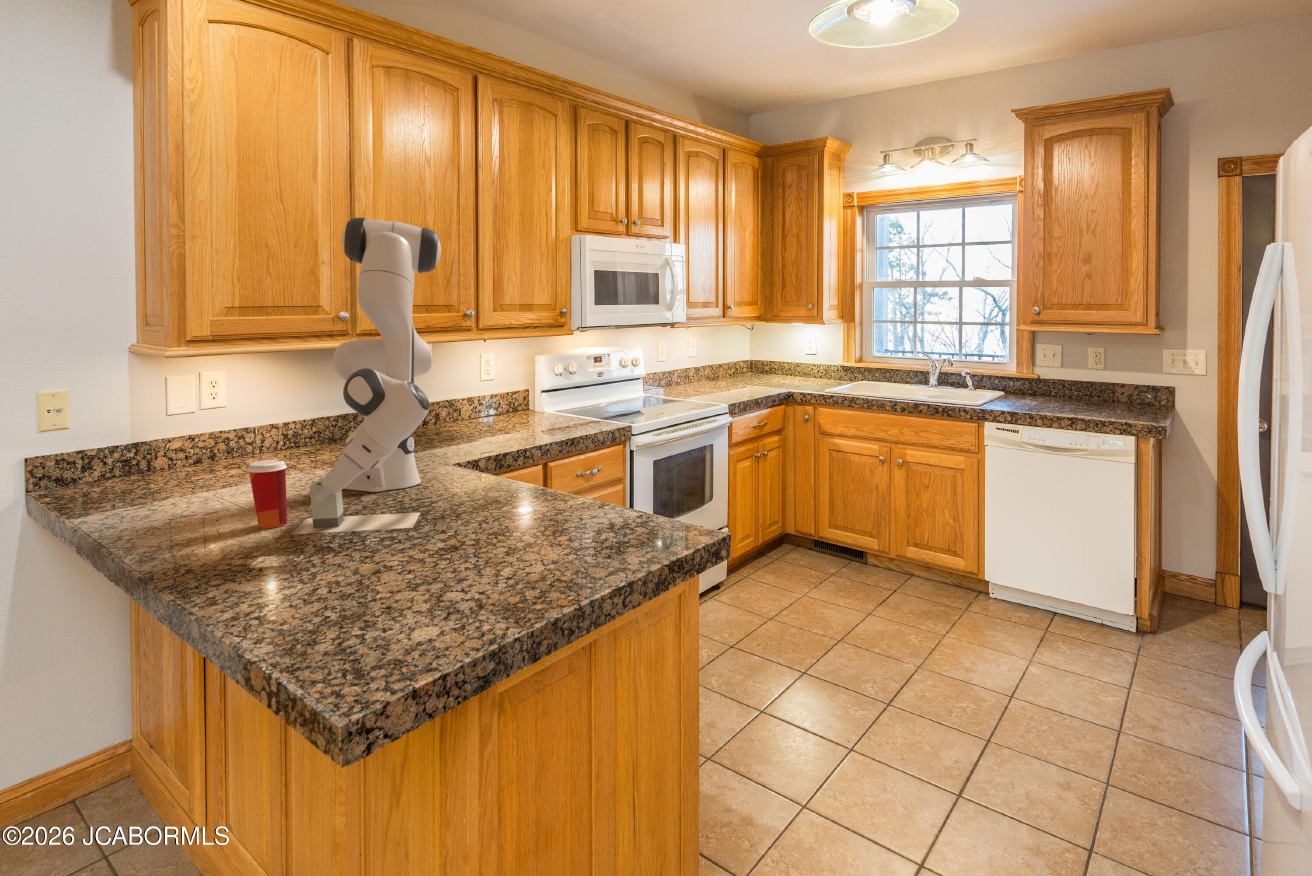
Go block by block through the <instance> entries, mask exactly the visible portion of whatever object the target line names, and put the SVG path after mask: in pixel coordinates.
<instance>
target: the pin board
mask: <svg viewBox="0 0 1312 876" xmlns="http://www.w3.org/2000/svg"><path fill="white" fill-rule="evenodd" d="M420 514H421V512H405V513H385V514H383V513H382V514H366V515H363V514H362V515H347V516H345V515H344V521H343V522H342V524H341V525H340V526H339V527H330V528H313V519H312V517H311V518H308V517H307V518H306V519H304V520H303V521H302V522H301V524H299V526H298V527H297V528H295V530H293V531H292V532H291V533H290V535H305V534H324V533H325V534H326V533H344V532H345V533H346V532H360V531H361V532H362V531H363V532H365V531H377V530H378V531H379V530H396V529H397V530H398V529H412V528H414V526H415V524H416V522H417V520H418V519H419V516H420Z"/></svg>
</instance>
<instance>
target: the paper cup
mask: <svg viewBox="0 0 1312 876" xmlns="http://www.w3.org/2000/svg"><path fill="white" fill-rule="evenodd" d="M287 467H288V466H287V465H286V463H285V460H280V459H266V460H258V461H253V462H251V463H249V466H248V468H247V473H249V479H250V486H251V490H252V497H253V504H254V508H255V516H256V520H257V521H256V522H257V526H258V528H259V527H260V529H263V530H264V529H265V528H269V529H276V528H275V527H277V528H280V527H284V526H285V524H286V525H287V524H288V516H287V512H288V509H287V506H288V503H287V478H286V477H287V476H286V475H287V474H286V468H287ZM283 525H284V526H283Z"/></svg>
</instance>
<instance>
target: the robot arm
mask: <svg viewBox="0 0 1312 876" xmlns="http://www.w3.org/2000/svg"><path fill="white" fill-rule="evenodd" d="M341 245H342V248H343V251H344V252H343V253H344V255H345V256H346V257H347V258H348V259H349V260H350V261H352V262H355V263H357V264H360V270H359V276H358V284H357V298H358V304H359V308H360V309H361V311H362V313H364V315H365V316H366V318H368V319H369V321H370V322H371V323H372V324H373V326H374V327H375V328H376V329H377V332H378V333H379V334H380V336H381V337H380V338H357V339H354V340H348V341H346V342H342V343H339V344H338V346H337V347H336V348H335V351H334V353H333V367H334V370H335V373H337V374H338V376H339V377H340V378H341V379H343V380H344V381H345V383H344V386H343V391H342V396H343V400H344V401H345V403H346V405H347V406H349V407H350V408H351V409H352V410H353V411H355V412H357V413H358V414H359V415H361V416H362V417H363V421H362V422H361V423H360V424H359V425H358V427H356V429H355V430H354V431H353V432H351V434H350V435H349V436H348V437H347V438H345V439H346V440H345V446H344V447H343V448H342V452H343V453H342V454H341V455H340V457H339V458H338V459H337V460H336V462H335V463H334V464H333V466H332V467H331V469H330V470H329V471H328V472H327V474H326V475H325V477H324V478H323V480H321V481H322V485H323V487H322V489H321V490H320V491H319V493H318V494H317V495H316V496H315V497H314V500H315V501H317V502H318V503H322V502H323V501H324V500H325V499H326V498H327V497H328V496H329V495H330V494H331V493H333V494H336V493H338V492H339V491H341V490H343V489H344V490H352V491H359V492H361V491H363V492H371V493H378V492H379V493H380V492H385V491H389V490H397V489H398V490H399V489H406V488H411V487H414V486H417V485H419V484H421V482H422V480H421V477H420V474H419V471H418V467H417V463H416V459H415V453H414V452H415V437H414V431H415V430H416V429H417V428H419V426H420V425H421V424H422V423H423V421H424V420H425V418H426V417H427V414H428V413H429V411H430V409H431V408H430V407H431V406H430V401H429V399H428V397H427V396H426V393H425V392H424V391H423V390H422V389H421V388H420V387H419V386H418V385H417V384H415V378H417V377H419V376H423V375H426V374H428V373H429V372H430V371H431V368H432V366H433V361H434V355H433V351H432V349H431V347H430V346H429V344H428V342H426V341H425V340H424V339H423V338H422V337H420V336H419V334H418V332H417V331H416V328H415V325H414V319H413V307H414V305H413V304H414V293H415V291H414V290H415V272H418V274H422V273H430V272H432V271H434V270H435V269H436V266H437V265H438V264H439V262H440V259H441V257H442V256H441V255H442V246H441V241H440V239H439V236H438V234H437V232H436V231H434V230H432V229H429V228H427V227H419V226H416V225H412V224H409V223H405V222H400V221H396V220H395V221H390V220H385V219H384V220H383V219H382V220H381V219H369V218H368V219H367V218H366V217H352V218H351V219H350V220H348V221H347V222H346V225H345V226H344V228H343V231H342V234H341Z"/></svg>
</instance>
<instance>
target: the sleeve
mask: <svg viewBox="0 0 1312 876" xmlns="http://www.w3.org/2000/svg"><path fill="white" fill-rule="evenodd" d="M322 481H323V480H315V481H314V482H313V483H312V484H311V485H309V496H310V505H311V508H310V509H311V516H312V517H311V518H312V519H313V528H330V527H339V526H340V525H341V524H342V522H343V521H344V516H345V515H344V505H343V504H344V503H343V494H342V493H343V491H342V490H343V489H342V490H341V491H339V492H338V493H336V494H333V493H331V494H330V495H329V496H328V497H327V498H326V499H325V500H324V501H323V502H322V503H318V502H317V501H315V500H314V497H315V496H316V495H317V494H318V493H319V491H320V490H321V489H322V487H323V485H322Z"/></svg>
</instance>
